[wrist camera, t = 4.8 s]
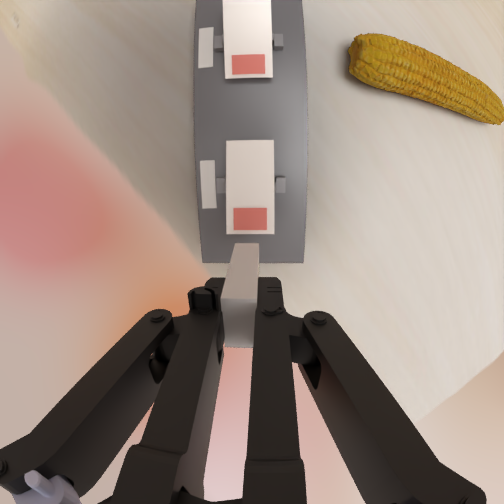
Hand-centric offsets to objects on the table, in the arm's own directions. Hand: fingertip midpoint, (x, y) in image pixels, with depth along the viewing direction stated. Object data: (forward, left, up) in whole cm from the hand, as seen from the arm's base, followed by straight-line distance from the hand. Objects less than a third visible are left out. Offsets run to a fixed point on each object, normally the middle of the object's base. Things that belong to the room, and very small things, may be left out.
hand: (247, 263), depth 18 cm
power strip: (-13, 0, -10) cm, 17 cm away
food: (-16, +19, -11) cm, 27 cm away
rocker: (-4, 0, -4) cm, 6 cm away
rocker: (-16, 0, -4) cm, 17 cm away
